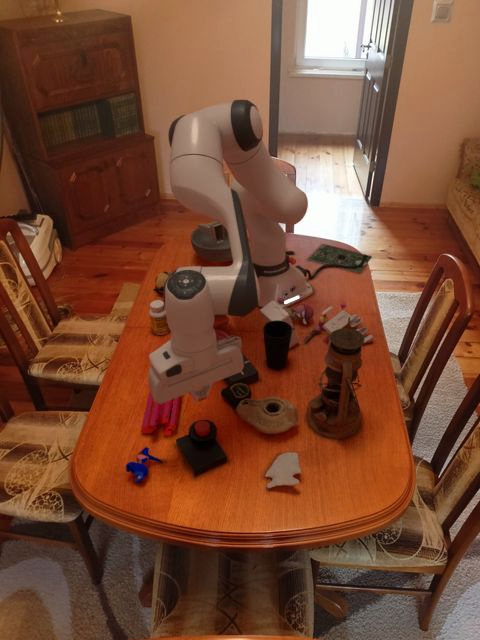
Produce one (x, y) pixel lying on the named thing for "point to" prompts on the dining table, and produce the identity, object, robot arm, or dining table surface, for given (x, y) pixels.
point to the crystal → (160, 415)
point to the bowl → (211, 247)
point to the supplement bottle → (158, 317)
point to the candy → (325, 319)
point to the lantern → (338, 387)
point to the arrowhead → (284, 470)
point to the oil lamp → (268, 414)
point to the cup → (277, 343)
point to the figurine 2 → (301, 315)
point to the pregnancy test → (336, 320)
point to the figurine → (140, 465)
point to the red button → (202, 428)
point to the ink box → (279, 318)
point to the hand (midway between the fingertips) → (201, 398)
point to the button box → (201, 450)
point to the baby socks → (357, 323)
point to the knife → (289, 252)
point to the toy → (161, 281)
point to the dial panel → (244, 374)
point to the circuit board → (339, 257)
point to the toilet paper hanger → (213, 231)
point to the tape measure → (236, 393)
